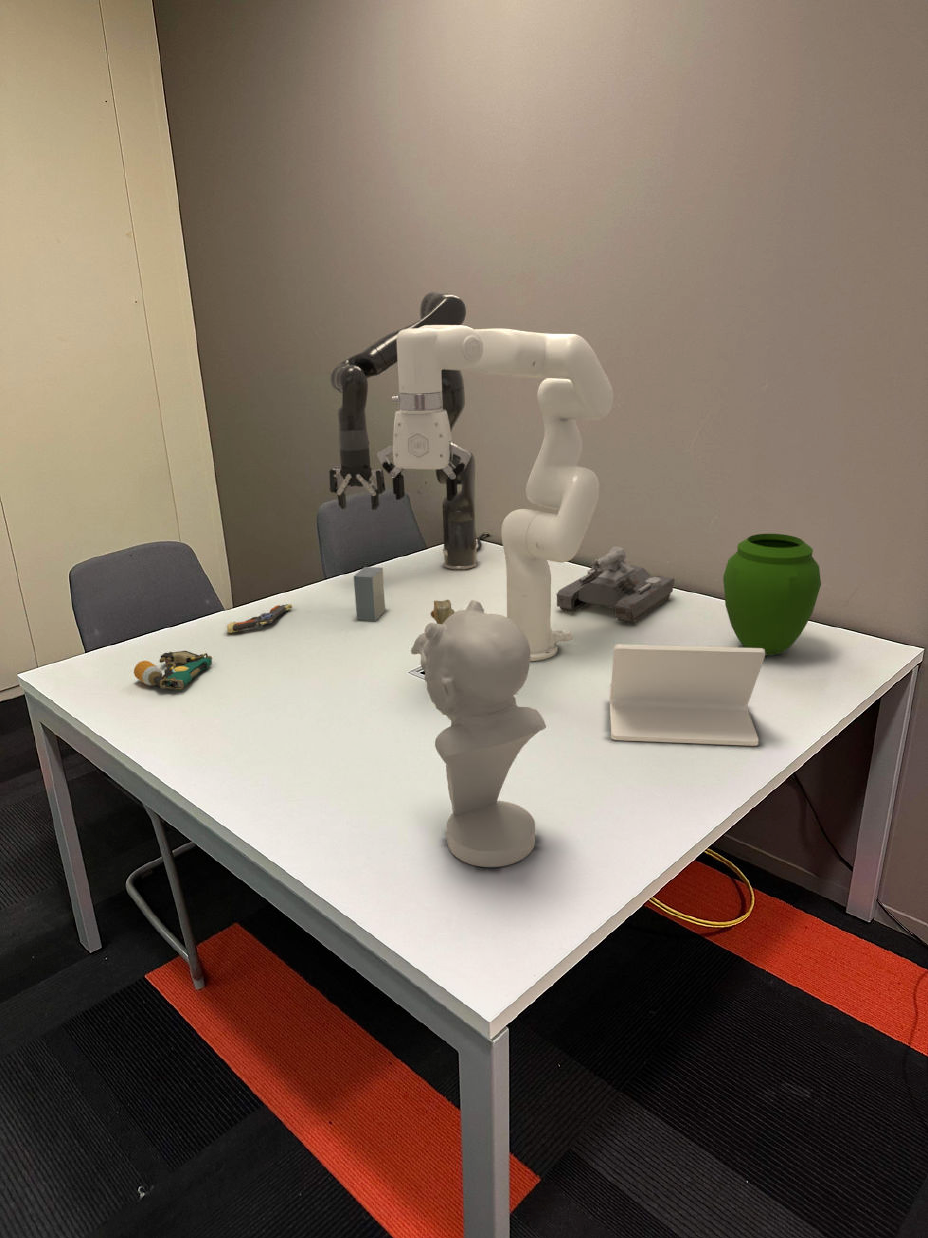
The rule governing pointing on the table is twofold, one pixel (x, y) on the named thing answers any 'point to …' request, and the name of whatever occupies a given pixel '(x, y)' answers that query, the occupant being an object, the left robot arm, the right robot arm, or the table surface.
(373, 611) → the brick
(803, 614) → the vase
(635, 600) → the toy
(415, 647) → the bust sculpture
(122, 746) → the table surface
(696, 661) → the tablet stand
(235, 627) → the toy gun
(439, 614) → the sculpture
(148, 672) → the green toy blaster
